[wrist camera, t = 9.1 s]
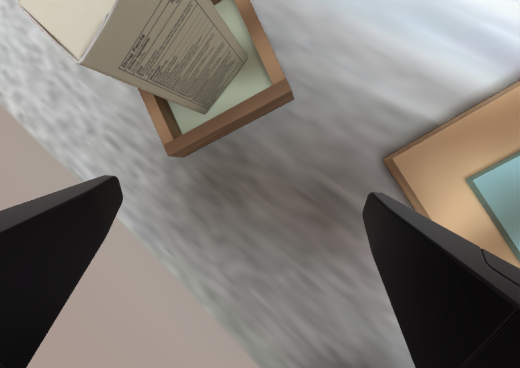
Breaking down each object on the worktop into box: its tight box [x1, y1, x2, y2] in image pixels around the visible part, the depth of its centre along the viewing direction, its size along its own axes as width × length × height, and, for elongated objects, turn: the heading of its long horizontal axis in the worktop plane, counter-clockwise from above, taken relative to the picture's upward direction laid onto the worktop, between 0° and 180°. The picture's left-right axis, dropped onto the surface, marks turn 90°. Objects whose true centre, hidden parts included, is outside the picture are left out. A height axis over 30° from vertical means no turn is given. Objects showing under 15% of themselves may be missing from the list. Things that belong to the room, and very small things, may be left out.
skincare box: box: [17, 0, 248, 114], centre depth 16 cm, size 6×4×12 cm
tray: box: [138, 0, 294, 157], centre depth 21 cm, size 11×11×2 cm
